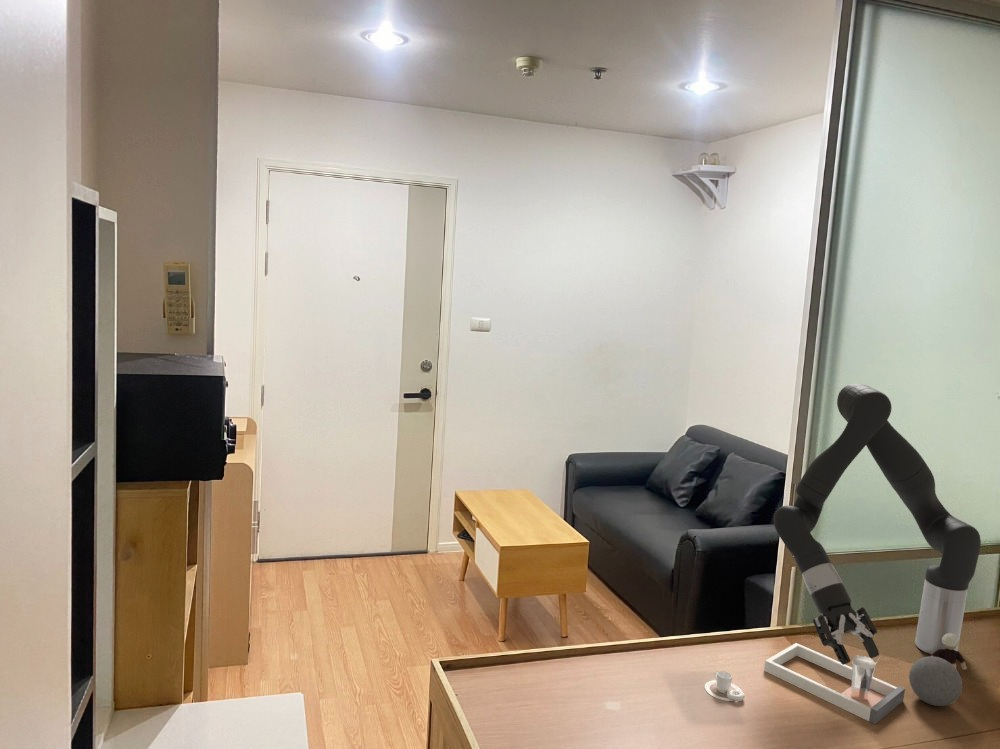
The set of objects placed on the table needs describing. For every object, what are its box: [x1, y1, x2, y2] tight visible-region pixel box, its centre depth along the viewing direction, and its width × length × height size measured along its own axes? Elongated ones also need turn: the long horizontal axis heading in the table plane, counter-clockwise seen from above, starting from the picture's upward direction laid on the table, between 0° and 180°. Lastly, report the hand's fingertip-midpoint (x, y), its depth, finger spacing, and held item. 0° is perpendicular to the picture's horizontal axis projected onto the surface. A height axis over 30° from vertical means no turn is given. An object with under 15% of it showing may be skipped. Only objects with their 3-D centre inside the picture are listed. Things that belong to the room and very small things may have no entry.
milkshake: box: [850, 654, 882, 701], centre depth 169 cm, size 4×5×10 cm
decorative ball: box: [908, 655, 963, 707], centre depth 169 cm, size 10×10×10 cm
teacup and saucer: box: [704, 670, 746, 702], centre depth 169 cm, size 9×8×4 cm
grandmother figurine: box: [931, 633, 967, 671], centre depth 176 cm, size 8×4×13 cm, turn 89°
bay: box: [763, 642, 906, 725], centre depth 174 cm, size 14×25×3 cm, turn 41°
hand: (861, 660), depth 169 cm, fingers open, 8 cm apart
